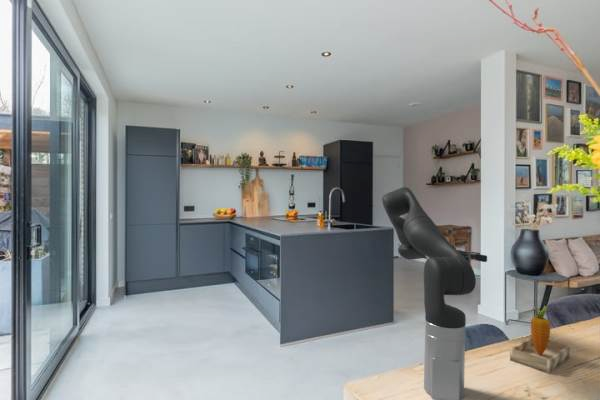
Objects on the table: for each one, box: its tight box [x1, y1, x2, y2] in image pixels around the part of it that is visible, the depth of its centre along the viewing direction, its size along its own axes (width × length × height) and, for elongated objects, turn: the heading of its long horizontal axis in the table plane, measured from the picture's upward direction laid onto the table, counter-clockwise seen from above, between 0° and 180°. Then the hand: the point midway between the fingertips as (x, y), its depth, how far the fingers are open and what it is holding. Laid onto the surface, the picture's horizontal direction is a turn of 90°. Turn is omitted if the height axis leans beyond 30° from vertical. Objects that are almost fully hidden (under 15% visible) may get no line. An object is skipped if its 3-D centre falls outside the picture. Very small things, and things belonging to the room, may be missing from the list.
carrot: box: [530, 305, 551, 355], centre depth 106 cm, size 5×5×15 cm
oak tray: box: [509, 336, 571, 375], centre depth 106 cm, size 18×10×4 cm, turn 127°
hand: (477, 259), depth 117 cm, fingers open, 8 cm apart
